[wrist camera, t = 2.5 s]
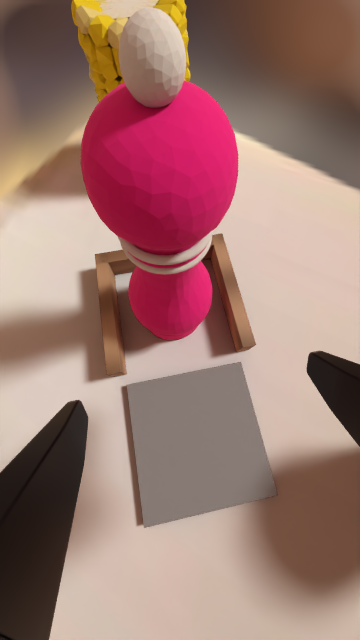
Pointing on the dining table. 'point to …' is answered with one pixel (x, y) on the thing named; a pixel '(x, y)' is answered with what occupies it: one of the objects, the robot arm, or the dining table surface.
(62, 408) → the robot arm
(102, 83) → the food
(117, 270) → the frame
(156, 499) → the rubber mat
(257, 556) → the dining table surface
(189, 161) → the pepper mill
